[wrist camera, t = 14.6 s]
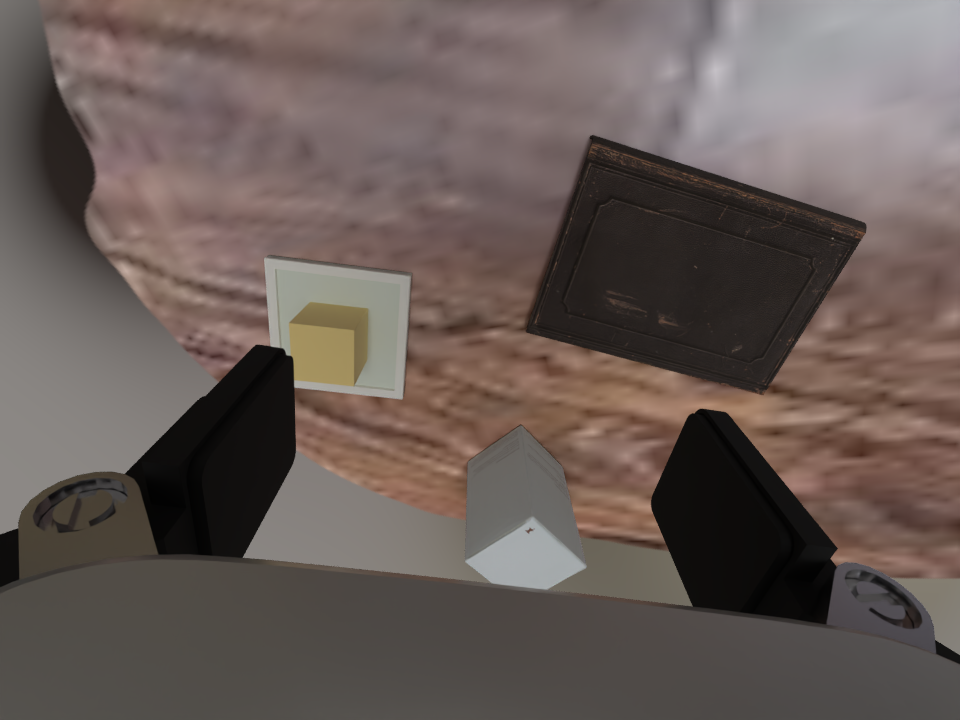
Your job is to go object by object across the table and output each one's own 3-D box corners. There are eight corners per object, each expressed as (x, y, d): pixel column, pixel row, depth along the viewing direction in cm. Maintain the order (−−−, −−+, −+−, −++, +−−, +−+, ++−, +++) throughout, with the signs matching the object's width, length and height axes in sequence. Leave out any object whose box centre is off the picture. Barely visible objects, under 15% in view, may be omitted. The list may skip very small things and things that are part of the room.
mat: (269, 255, 39) (264, 258, 38) (411, 273, 40) (410, 276, 39) (277, 379, 45) (273, 385, 44) (404, 394, 45) (402, 399, 44)
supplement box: (465, 460, 49) (460, 561, 37) (521, 422, 47) (534, 516, 35) (509, 502, 51) (517, 608, 40) (565, 467, 49) (590, 569, 38)
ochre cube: (310, 301, 41) (288, 323, 36) (368, 308, 41) (354, 330, 36) (312, 353, 43) (292, 379, 38) (367, 359, 43) (354, 386, 38)
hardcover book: (750, 383, 45) (763, 395, 43) (523, 322, 43) (526, 332, 41) (851, 219, 39) (871, 224, 36) (588, 134, 36) (595, 134, 34)
